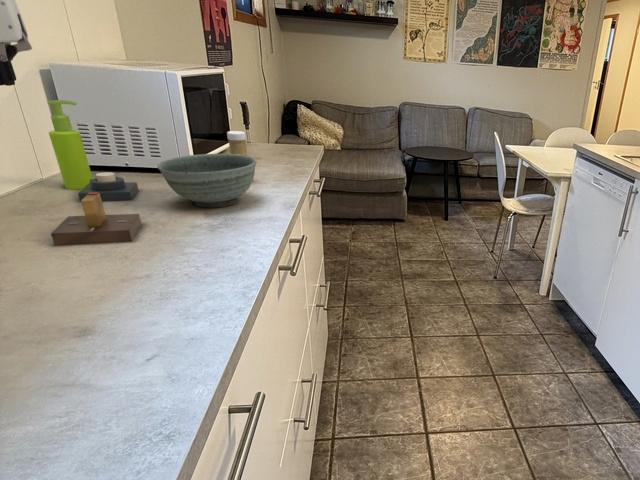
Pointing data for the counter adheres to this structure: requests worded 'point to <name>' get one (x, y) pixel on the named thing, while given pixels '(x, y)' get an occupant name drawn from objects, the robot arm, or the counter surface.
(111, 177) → the bell button
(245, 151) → the sprinkles bottle
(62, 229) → the plate
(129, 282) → the counter surface
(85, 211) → the tan wooden block
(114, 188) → the block
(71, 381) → the counter surface
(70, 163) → the soap dispenser
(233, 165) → the bowl
